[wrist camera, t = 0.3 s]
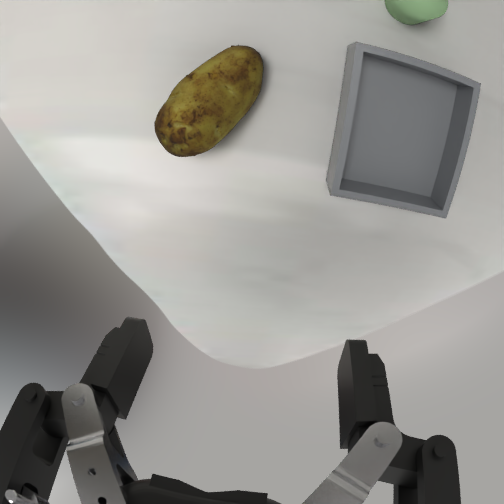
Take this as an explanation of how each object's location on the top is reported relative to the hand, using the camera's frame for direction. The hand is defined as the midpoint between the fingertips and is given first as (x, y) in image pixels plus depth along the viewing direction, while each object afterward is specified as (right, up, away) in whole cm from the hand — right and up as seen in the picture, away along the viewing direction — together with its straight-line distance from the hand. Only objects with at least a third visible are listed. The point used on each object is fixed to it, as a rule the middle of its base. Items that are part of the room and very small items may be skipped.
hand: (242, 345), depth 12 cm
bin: (+17, +18, +20) cm, 31 cm away
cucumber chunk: (+17, +31, +12) cm, 37 cm away
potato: (-3, +21, +21) cm, 30 cm away
